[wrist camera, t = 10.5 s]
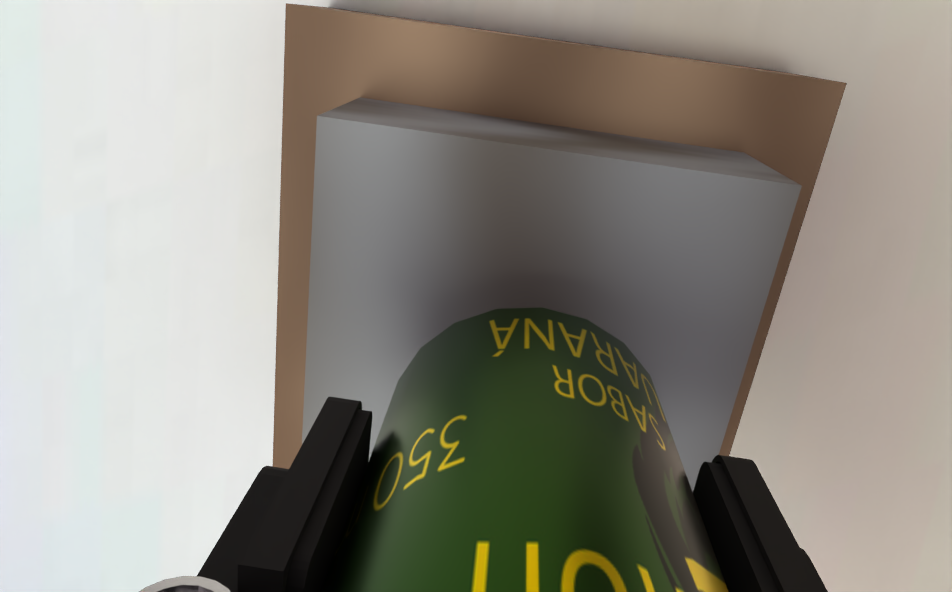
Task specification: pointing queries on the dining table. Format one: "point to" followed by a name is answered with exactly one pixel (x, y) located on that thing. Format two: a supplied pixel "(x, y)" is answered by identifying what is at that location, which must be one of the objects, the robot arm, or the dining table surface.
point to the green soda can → (525, 471)
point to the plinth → (527, 90)
